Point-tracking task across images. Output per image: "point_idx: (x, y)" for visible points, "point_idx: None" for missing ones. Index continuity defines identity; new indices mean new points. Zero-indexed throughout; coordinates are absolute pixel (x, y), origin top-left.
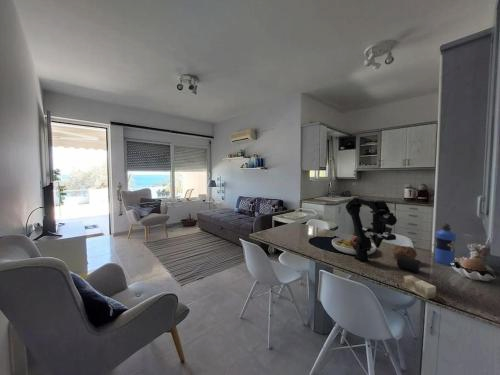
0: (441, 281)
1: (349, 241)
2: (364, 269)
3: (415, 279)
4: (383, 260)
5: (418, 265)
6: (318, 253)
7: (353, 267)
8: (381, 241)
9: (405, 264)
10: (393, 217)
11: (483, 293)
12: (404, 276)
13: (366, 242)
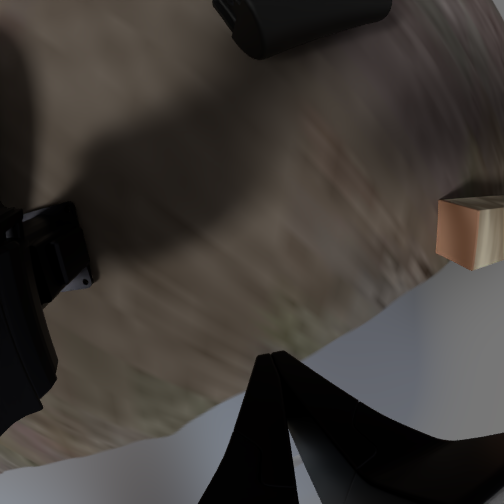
0: (427, 14)
1: None
2: (227, 338)
3: (501, 232)
4: (85, 70)
5: (391, 3)
6: (20, 426)
7: (190, 383)
8: (387, 423)
9: (322, 33)
10: None
11: (485, 6)
12: (475, 263)
13: (2, 351)
